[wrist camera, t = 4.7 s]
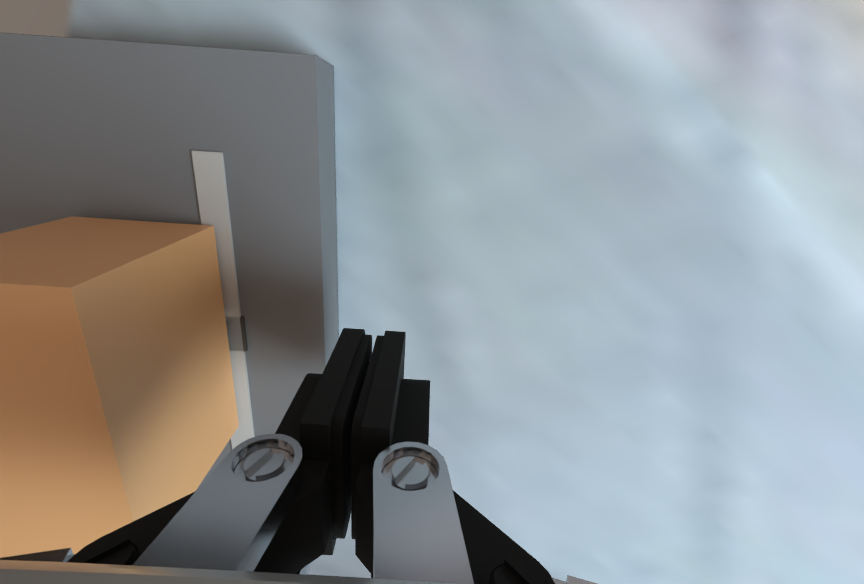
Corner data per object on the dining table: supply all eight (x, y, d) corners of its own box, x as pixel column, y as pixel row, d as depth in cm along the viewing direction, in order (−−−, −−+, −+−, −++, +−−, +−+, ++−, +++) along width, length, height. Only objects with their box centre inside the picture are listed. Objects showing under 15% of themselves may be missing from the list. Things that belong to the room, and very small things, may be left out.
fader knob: (213, 225, 12) (70, 287, 7) (238, 425, 14) (145, 566, 10) (71, 216, 12) (-164, 273, 7) (122, 418, 14) (-28, 556, 10)
